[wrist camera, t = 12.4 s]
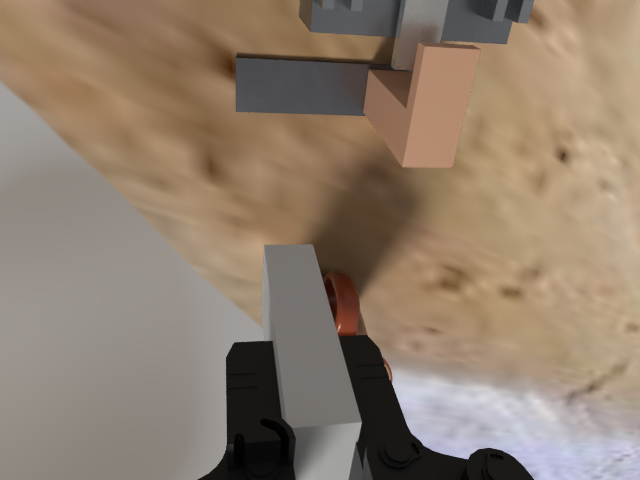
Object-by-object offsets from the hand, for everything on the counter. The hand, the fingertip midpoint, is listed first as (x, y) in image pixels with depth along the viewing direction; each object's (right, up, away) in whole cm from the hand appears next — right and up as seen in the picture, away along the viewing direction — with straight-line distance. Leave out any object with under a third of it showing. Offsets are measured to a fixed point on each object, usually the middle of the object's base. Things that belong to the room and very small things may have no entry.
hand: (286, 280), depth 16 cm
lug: (+6, +13, +19) cm, 24 cm away
